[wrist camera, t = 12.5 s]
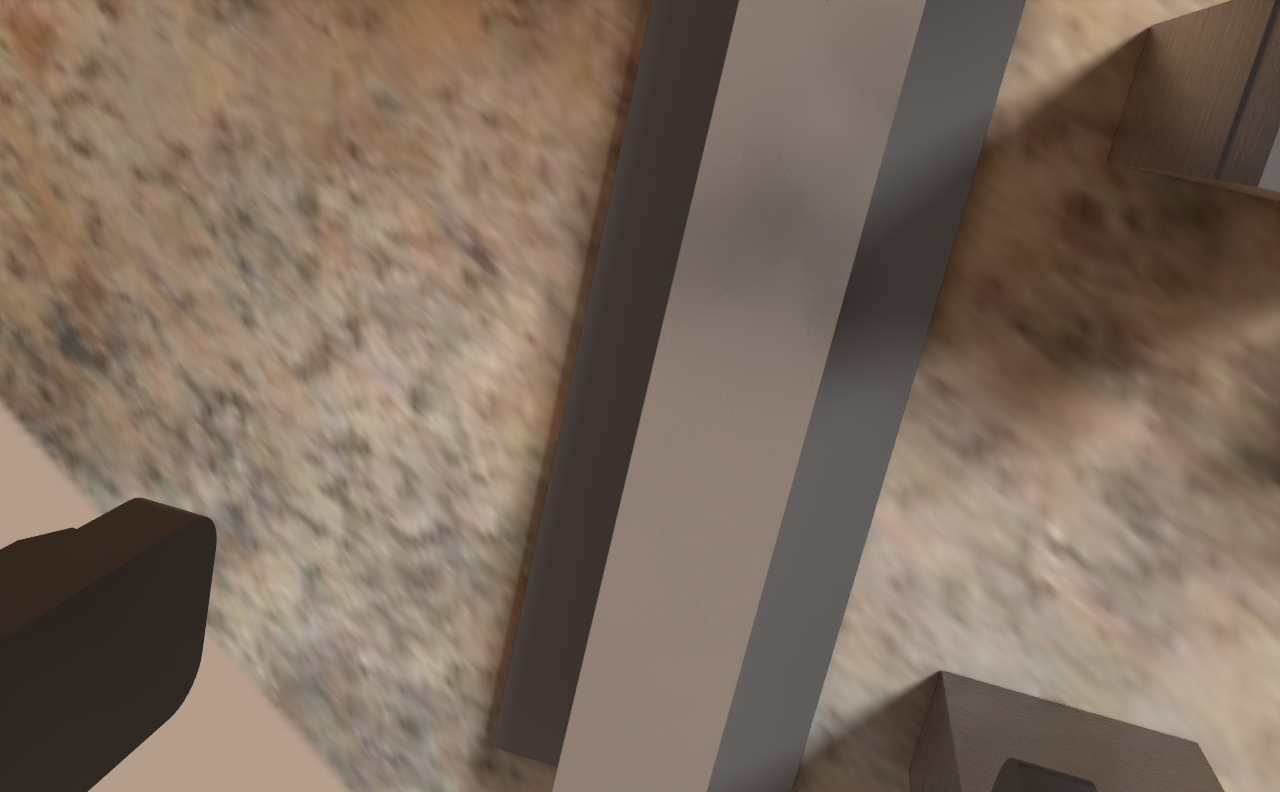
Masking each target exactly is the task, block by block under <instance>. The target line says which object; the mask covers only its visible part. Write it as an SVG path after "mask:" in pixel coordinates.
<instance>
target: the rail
mask: <svg viewBox="0 0 1280 792" xmlns="http://www.w3.org/2000/svg"><path fill="white" fill-rule="evenodd" d="M925 3H926V0H739V3H738V8H737V12H736V16H735V20H734V25H733V29H732V33H731V37H730V42H729V46H728V50H727V54H726V58H725V63H724V67H723V71H722V75H721V80H720V84H719V88H718V92H717V97H716V101H715V105H714V109H713V113H712V118H711V122H710V126H709V130H708V135H707V139H706V143H705V147H704V151H703V156H702V160H701V164H700V168H699V173H698V177H697V181H696V185H695V190H694V194H693V198H692V202H691V206H690V211H689V215H688V219H687V223H686V228H685V232H684V236H683V240H682V245H681V249H680V253H679V257H678V261H677V266H676V270H675V274H674V278H673V283H672V287H671V291H670V295H669V299H668V304H667V308H666V312H665V316H664V321H663V325H662V329H661V333H660V338H659V342H658V346H657V350H656V354H655V359H654V363H653V367H652V371H651V376H650V380H649V384H648V388H647V393H646V397H645V401H644V405H643V409H642V414H641V418H640V422H639V426H638V431H637V435H636V439H635V443H634V447H633V452H632V456H631V460H630V464H629V469H628V473H627V477H626V481H625V486H624V490H623V494H622V498H621V502H620V507H619V511H618V515H617V519H616V524H615V528H614V532H613V536H612V541H611V545H610V549H609V553H608V557H607V562H606V566H605V570H604V574H603V579H602V583H601V587H600V591H599V595H598V600H597V604H596V608H595V612H594V617H593V621H592V625H591V629H590V634H589V638H588V642H587V646H586V650H585V655H584V659H583V663H582V667H581V672H580V676H579V680H578V684H577V689H576V693H575V697H574V701H573V705H572V710H571V714H570V718H569V722H568V727H567V731H566V735H565V739H564V743H563V748H562V752H561V756H560V760H559V765H558V769H557V773H556V777H555V782H554V786H553V790H552V792H707V789H708V785H709V782H710V778H711V775H712V771H713V767H714V764H715V760H716V757H717V753H718V749H719V746H720V742H721V739H722V735H723V731H724V728H725V724H726V721H727V717H728V713H729V710H730V706H731V702H732V699H733V695H734V692H735V688H736V684H737V681H738V677H739V674H740V670H741V666H742V663H743V659H744V656H745V652H746V648H747V645H748V641H749V638H750V634H751V630H752V627H753V623H754V620H755V616H756V612H757V609H758V605H759V601H760V598H761V594H762V591H763V587H764V583H765V580H766V576H767V573H768V569H769V565H770V562H771V558H772V555H773V551H774V547H775V544H776V540H777V537H778V533H779V529H780V526H781V522H782V519H783V515H784V511H785V508H786V504H787V501H788V497H789V493H790V490H791V486H792V482H793V479H794V475H795V472H796V468H797V464H798V461H799V457H800V454H801V450H802V446H803V443H804V439H805V436H806V432H807V428H808V425H809V421H810V418H811V414H812V410H813V407H814V403H815V400H816V396H817V392H818V389H819V385H820V381H821V378H822V374H823V371H824V367H825V363H826V360H827V356H828V353H829V349H830V345H831V342H832V338H833V335H834V331H835V327H836V324H837V320H838V317H839V313H840V309H841V306H842V302H843V299H844V295H845V291H846V288H847V284H848V280H849V277H850V273H851V270H852V266H853V262H854V259H855V255H856V252H857V248H858V244H859V241H860V237H861V234H862V230H863V226H864V223H865V219H866V216H867V212H868V208H869V205H870V201H871V198H872V194H873V190H874V187H875V183H876V179H877V176H878V172H879V169H880V165H881V161H882V158H883V154H884V151H885V147H886V143H887V140H888V136H889V133H890V129H891V125H892V122H893V118H894V115H895V111H896V107H897V104H898V100H899V97H900V93H901V89H902V86H903V82H904V79H905V75H906V71H907V68H908V64H909V60H910V57H911V53H912V50H913V46H914V42H915V39H916V35H917V32H918V28H919V24H920V21H921V17H922V14H923V10H924V6H925Z"/></svg>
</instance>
